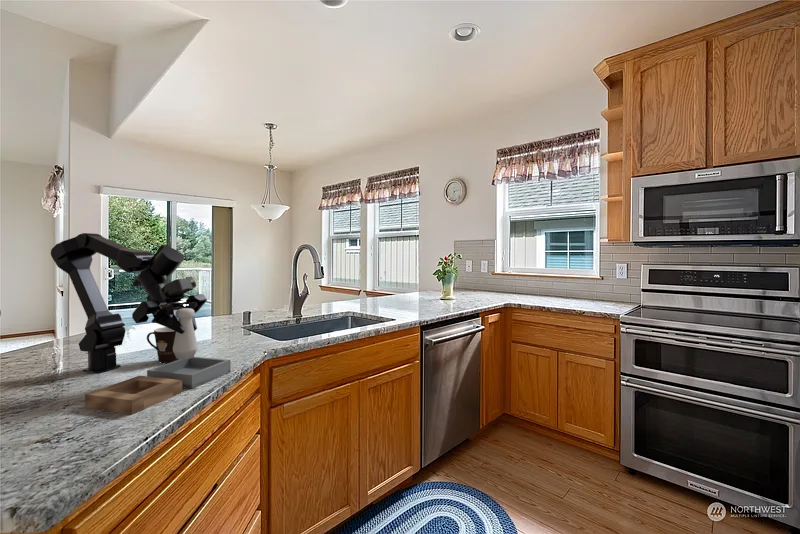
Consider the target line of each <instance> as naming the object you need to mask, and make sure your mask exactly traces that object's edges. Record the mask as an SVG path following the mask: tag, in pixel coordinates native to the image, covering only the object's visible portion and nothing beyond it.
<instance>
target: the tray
mask: <svg viewBox="0 0 800 534" xmlns="http://www.w3.org/2000/svg"><path fill="white" fill-rule="evenodd" d="M231 367H232V366H231V359H227V358H226V359H222V358H213V357H205V356H201V357H200V356H194V357H193V358H189V359H180V360H177V361H174V362H171V363H167V364H162V365H159V366H155V367H153V368H151V369H147V370H146V376H149V377H158V378H167V379H175V380H182V389H190V390H193V389H196V388H197V387H200V386H202V385H204V384H207V383H209V382H211V381H214V380H216V379H219V378H220V377H223V376H225V375H227V374H229V373H231Z"/></svg>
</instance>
